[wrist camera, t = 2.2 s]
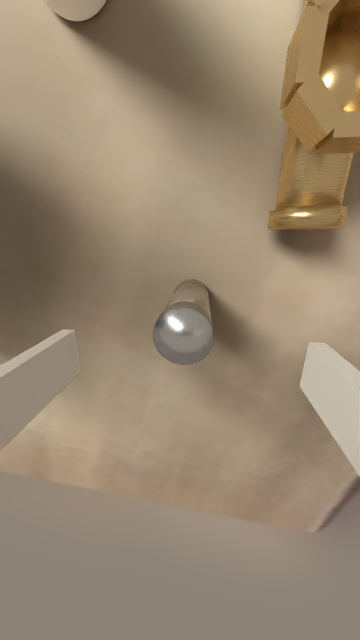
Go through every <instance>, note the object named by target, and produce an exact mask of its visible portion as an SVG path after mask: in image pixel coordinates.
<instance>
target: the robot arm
mask: <svg viewBox="0 0 360 640" xmlns="http://www.w3.org/2000/svg"><path fill="white" fill-rule="evenodd" d="M80 371H81V364H80V358H79V352H78V346H77V340H76V334H75V330H66V329H62V330H61V331H59V332H57V333H55V334H54V335H52V336H50V337H49V338H47V339H45V340H43V341H42V342H40V343H38V344H37V345H35V346H33V347H31V348H30V349H28V350H26V351H25V352H23V353H21V354H19V355H18V356H16V357H14V358H13V359H11V360H9V361H7V362H6V363H4V364H2V365H1V366H0V451H1V450H2V449H3V448H4V447H5V446H6V445H7V444H8V443H9V442H10V441H11V440H12V439H13V438H14V437H15V436H16V435H17V434H18V433H19V432H20V431H21V430H22V429H23V428H24V427H25V426H26V425H27V424H28V423H29V422H30V421H31V420H32V419H33V418H34V417H35V416H36V415H37V414H38V413H39V412H40V411H41V410H42V409H43V408H44V407H45V406H46V405H47V404H48V403H49V402H50V401H51V400H52V399H53V398H54V397H55V396H56V395H57V394H58V393H59V392H60V391H61V390H62V389H63V388H64V387H65V386H66V385H67V384H68V383H69V382H70V381H71V380H72V379H73V378H74V377H75V376H76V375H77V374H78V373H79V372H80ZM299 386H300V388H301V389H302V391H303V392H304V394H305V395H306V397H307V398H308V400H309V401H310V403H311V404H312V406H313V407H314V409H315V410H316V412H317V413H318V415H319V416H320V418H321V419H322V421H323V422H324V424H325V425H326V427H327V428H328V430H329V431H330V433H331V434H332V436H333V437H334V439H335V440H336V442H337V443H338V445H339V446H340V448H341V449H342V451H343V452H344V454H345V455H346V457H347V458H348V460H349V461H350V463H351V464H352V466H353V467H354V469H355V470H356V472H357V473H358V475H359V476H360V371H359V370H358V369H356V368H355V367H354V366H353V365H351V364H350V363H349V362H348V361H347V360H345V359H344V358H343V357H342V356H340V355H339V354H338V353H337V352H335V351H334V350H333V349H332V348H331V347H329V346H328V345H327V344H326V343H319V342H309V345H308V350H307V354H306V359H305V363H304V368H303V372H302V376H301V381H300V385H299Z"/></svg>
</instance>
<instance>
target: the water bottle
mask: <svg viewBox="0 0 360 640" xmlns="http://www.w3.org/2000/svg"><path fill="white" fill-rule="evenodd" d="M44 1H45V2H46V3H47V4H48V6H49V7H50V8H51V9H52V10H53V11H54V12H56V13H57V14H58V15H60V16H61V17H63V18H65V19H68V20H71V21H84V20H87V19H89V18H91V17H93V16H94V15H95V14H97V13H98V12H99V11H100V9H101V8H102V7H103V5H104V4H105V2H106V0H44Z"/></svg>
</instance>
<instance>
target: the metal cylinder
mask: <svg viewBox="0 0 360 640" xmlns="http://www.w3.org/2000/svg"><path fill="white" fill-rule="evenodd" d="M153 339H154V344H155V346H156V348H157V350H158V352H159V353H160V354H161V355H162V356H163V357H164V358H165V359H167V360H169V361H171V362H173V363H176V364H182V365H187V364H193V363H196V362H198V361H200V360H202V359H203V358H204V357H205V356H206V355H207V354H208V353H209V351H210V350H211V348H212V345H213V341H214V332H213V324H212V320H211V312H210V303H209V292H208V290H207V288H206V286H205V285H204V284H203V283H201V282H200V281H197V280H186V281H184V282H182V283H181V284H180V285H179V286H178V287H177V288H176V290H175V292H174V294H173V296H172V298H171V300H170V301H169V303H168V305H167V306H166V308H165V310H164V311H163V312H162V314H161V315H160V317H159V319H158V320H157V322H156V324H155V327H154V331H153Z"/></svg>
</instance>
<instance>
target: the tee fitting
mask: <svg viewBox="0 0 360 640" xmlns="http://www.w3.org/2000/svg"><path fill="white" fill-rule="evenodd" d="M280 109H285V110H284V112H283V114H282V117H283V118H284V120H285V121H286V122H287V124H288V126H287V133H286V140H285V147H284V154H283V161H282V168H281V175H280V183H279V190H278V197H277V204H276V210H273V211H271V212H269V220H268V227H267V229H269V230H322V229H336V228H343V227H344V225H345V221H346V217H347V213H348V209H349V208H348V207H346V206H342V202H343V198H344V194H345V189H346V185H347V181H348V176H349V172H350V168H351V163H352V159H353V155H354V153H359V152H360V0H305V4H304V11H303V14H302V17H301V19H300V21H299V24H298V26H297V28H296V31H295V33H294V35H293V37H292V40H291V42H290V44H289V47H288V51H287V59H286V67H285V75H284V83H283V90H282V98H281V106H280Z"/></svg>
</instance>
